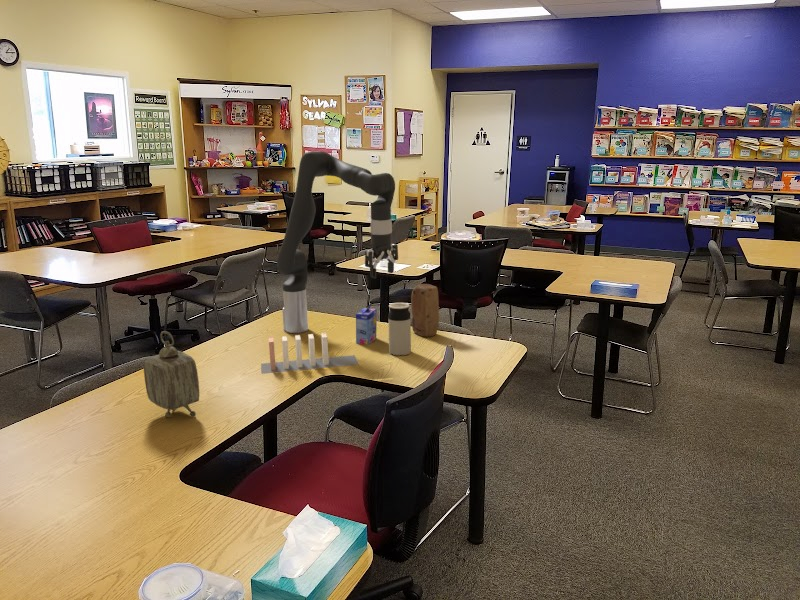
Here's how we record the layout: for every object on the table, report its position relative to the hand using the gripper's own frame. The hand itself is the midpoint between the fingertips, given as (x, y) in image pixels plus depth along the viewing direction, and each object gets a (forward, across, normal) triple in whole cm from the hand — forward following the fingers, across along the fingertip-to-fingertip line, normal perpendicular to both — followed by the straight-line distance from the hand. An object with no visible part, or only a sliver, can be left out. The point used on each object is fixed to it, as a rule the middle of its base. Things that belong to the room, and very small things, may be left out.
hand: (382, 275), depth 225 cm
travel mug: (+28, 0, +9) cm, 29 cm away
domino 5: (+26, +26, -2) cm, 37 cm away
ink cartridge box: (+29, -1, -10) cm, 31 cm away
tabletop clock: (+24, +82, -2) cm, 85 cm away
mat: (+27, +31, -5) cm, 41 cm away
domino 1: (+26, +41, -12) cm, 50 cm away
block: (+30, -22, +1) cm, 37 cm away
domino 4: (+26, +30, -5) cm, 40 cm away
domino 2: (+26, +37, -10) cm, 47 cm away
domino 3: (+26, +34, -7) cm, 43 cm away
